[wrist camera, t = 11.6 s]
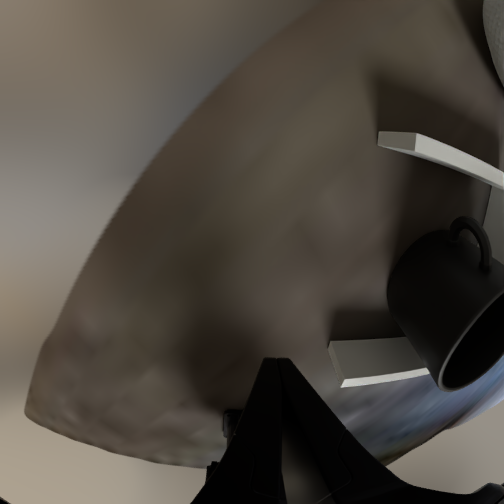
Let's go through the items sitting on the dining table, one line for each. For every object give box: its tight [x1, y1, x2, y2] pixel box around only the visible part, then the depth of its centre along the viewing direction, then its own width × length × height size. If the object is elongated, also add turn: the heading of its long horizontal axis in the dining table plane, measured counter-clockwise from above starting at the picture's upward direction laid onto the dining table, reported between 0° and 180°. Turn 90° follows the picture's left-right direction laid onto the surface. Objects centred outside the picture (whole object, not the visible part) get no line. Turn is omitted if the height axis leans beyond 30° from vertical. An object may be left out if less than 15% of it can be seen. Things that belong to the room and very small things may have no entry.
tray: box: [328, 131, 504, 387], centre depth 17 cm, size 18×14×4 cm
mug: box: [388, 216, 504, 392], centre depth 15 cm, size 9×12×9 cm
